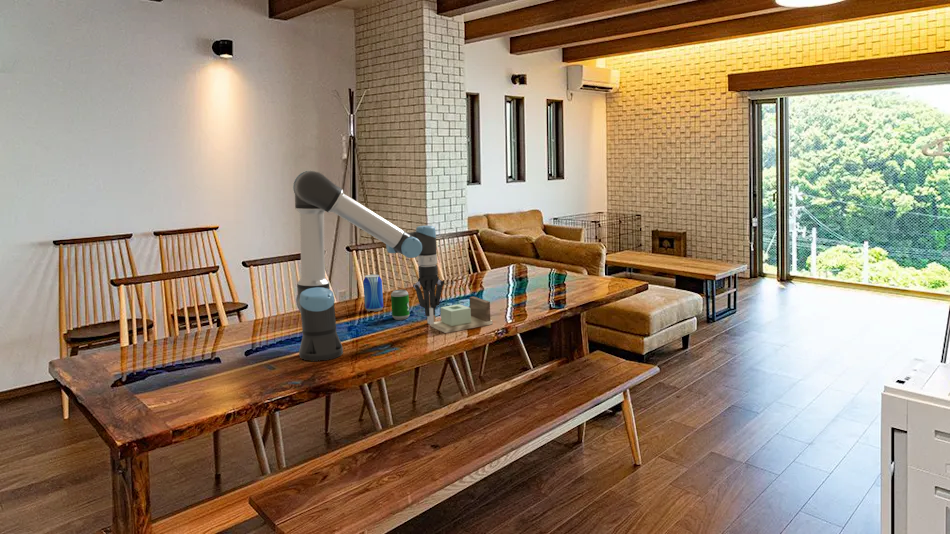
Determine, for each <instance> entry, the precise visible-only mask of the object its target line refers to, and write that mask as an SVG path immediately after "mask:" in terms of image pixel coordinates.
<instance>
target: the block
mask: <svg viewBox="0 0 950 534" xmlns="http://www.w3.org/2000/svg"><path fill="white" fill-rule="evenodd" d="M439 310H440V321H441V322H443V323H445V324H448V325H450V326H455V325H461V324H466V323H471V308H470V306H466V305H462V304H459V303H458V304H453V305H447V306H441V307H440V309H439Z"/></svg>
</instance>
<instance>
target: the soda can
mask: <svg viewBox="0 0 950 534" xmlns="http://www.w3.org/2000/svg"><path fill="white" fill-rule="evenodd" d="M390 293H391V294H390V301H391V317H392V318H393V319H394V320H397V321H402V320H406V319H408V318H409V317H410V315H411V314H410V300H409V298H410V297H409V292H408V291H407V290H406V289H395V290H393V291H392V292H390Z"/></svg>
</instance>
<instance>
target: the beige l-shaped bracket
mask: <svg viewBox="0 0 950 534" xmlns="http://www.w3.org/2000/svg"><path fill="white" fill-rule="evenodd" d="M469 308H471V323H466V324H461V325H455V326H450V325H448V324H445V323H443V322H441V320H438V321H435V322H434V324H431V325H430V324H429V325H430V327H431V328H433V329H435V330H438V331H439V332H443V333H444V334H447V333H448V334H449V333H452V332H457V331H463V330H467V329H468V330H469V329H474V328H479V327H485V326H490V325H494V324H493V320H492V319H491V302H490V301H489V300H485V299H482V298H479V297H477V296H470V297H469Z"/></svg>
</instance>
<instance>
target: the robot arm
mask: <svg viewBox="0 0 950 534" xmlns="http://www.w3.org/2000/svg"><path fill="white" fill-rule="evenodd" d="M292 188H293V189H292V190H293V194H294V206H295V207H294V208H295V210H296V211H297V212H298V214H299V236H300V237H299V238H300V275H301V277H300V279H299V280H298V281H297V282H296V289H297V292H296V293H297V295H296V299H295V300H296V301H295V302H296V308H297V309H298V311H299V312H300V316H301V317H300V318H301V329H302V338H301V341H300V347H299V350H298V353H299V354H298V355H299V356H300V357H299V359H300V358H302V359H304V360H303V361H305V360H311V361H310V362H321V361H320V360H324V361H327V360H328V361H329V359H330V360H333V359H336V358H339V357H340V356H342V355H343V354H344V347H343V345H342V342H341V339H340V338H339V335H338V333H337V322H336V321H337V320H336V311H335V301H336V300H335V295H334V292H333V291H332V289H330V281H329V280H328V279H327V278H326V257H325V256H326V249H325V213H333V214H335V215H337V216H339V217H340V218H341V219H343V220H345V221H347V222H348V223H350V224H352V225H354V226H355V227H357V228H358V229H360V230H362V231H364V232H365V233H367V234H368V235H370V236H371V237H373V238H375V239H377V240H379V241H380V242H382V243H384V244H385V248H386V252H387V253H389V254H400V255H401V254H402V255H403V256H404V257H406V258H409V259H414V258H417V264H418V267H417V268H418V279H417V282H416V283H413V285H412V287H413V288H414V290H415V292H416V296H417V300H418V303H419V306H420V307H421V308H423V309H424V316H426V317H427V318H426V319H427V320H426V321H427V324H428V325H431V324H434V316H433V315H435V316H436V308H437V306H439V305H440V302H441V297H442V290H443V286H444V285H445V281H444V280H441V279H440V278H439V276H438V275H439V271H438V254H437V235H436V234H437V232H436V227H435V226H433V225H420V226H419V225H418V226H417V227H416V228H415V231H412V232H406V231H405V230H403V228H402V229H401V228H400V227H398V226H397V225H395V224H394V223H392V222H391V221H389V220H388V219H386V218H384V217H382V216H381V215H379V214H378V213H376V212H374V211H372V209H370V208H368V207H367V206H365V205H363V204H362V203H360V202H359V201H356V200H355V199H354V198H352V197H350V196H348V194H345V193H344V189H343V188H342V187H340V186H338V185H336V184H335V183H334V182H333V181H332V180H330V179H329V178H328V177H327V176H326V175H324V174H323V173H321V172H319V171H314V170H306V171H303V172H301V173H300V174H299V175H297V176H296V177H295V179H294V183H293V187H292ZM421 287H422V290H421ZM422 291H423V293H422ZM429 295H430V305H429ZM430 306H431V307H430ZM302 359H301V360H302ZM313 360H314V361H313ZM318 360H319V361H318Z"/></svg>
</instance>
